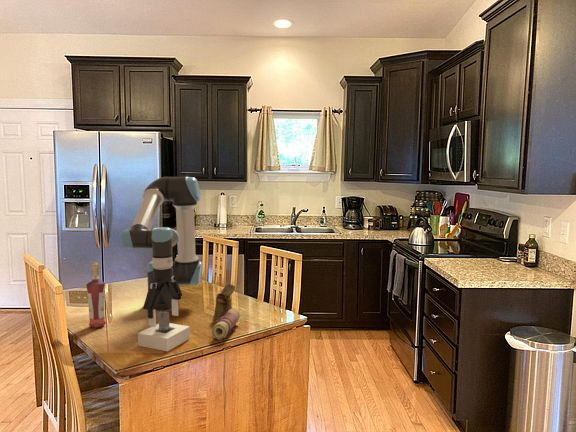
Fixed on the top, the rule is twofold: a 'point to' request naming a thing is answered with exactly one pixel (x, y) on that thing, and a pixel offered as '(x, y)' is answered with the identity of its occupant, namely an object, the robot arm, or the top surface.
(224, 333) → the scroll
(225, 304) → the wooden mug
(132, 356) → the top surface
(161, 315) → the peg
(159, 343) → the socket
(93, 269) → the liquor
